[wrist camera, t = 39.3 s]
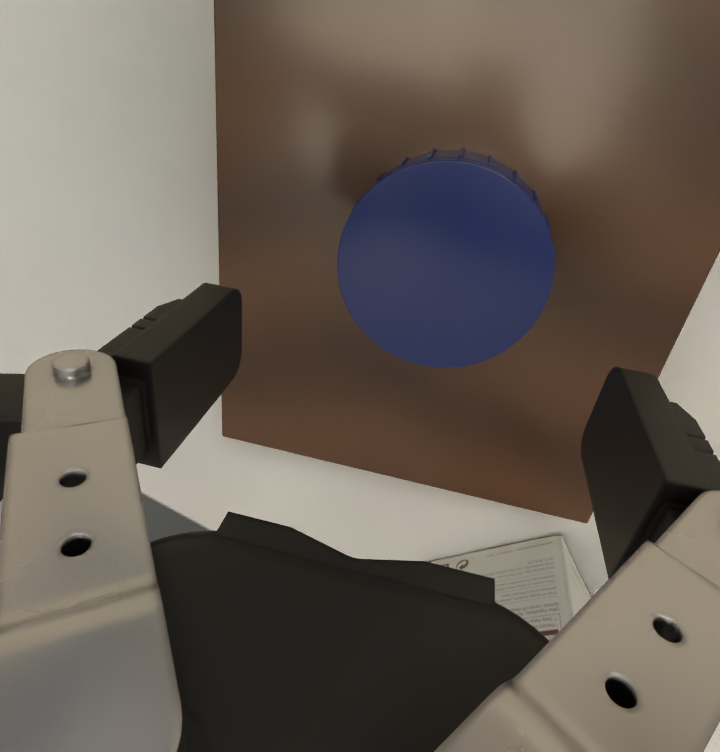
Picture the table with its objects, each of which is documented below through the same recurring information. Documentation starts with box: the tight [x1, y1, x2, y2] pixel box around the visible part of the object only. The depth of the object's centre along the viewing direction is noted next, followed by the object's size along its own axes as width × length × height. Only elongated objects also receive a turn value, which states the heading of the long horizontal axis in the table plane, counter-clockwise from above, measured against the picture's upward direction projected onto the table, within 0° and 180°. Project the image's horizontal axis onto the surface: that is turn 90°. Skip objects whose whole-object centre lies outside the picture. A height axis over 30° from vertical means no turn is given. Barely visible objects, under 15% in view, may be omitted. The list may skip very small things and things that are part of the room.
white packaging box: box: [430, 536, 591, 641], centre depth 22 cm, size 7×7×13 cm
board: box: [214, 0, 720, 523], centre depth 19 cm, size 20×16×2 cm
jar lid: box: [337, 148, 556, 368], centre depth 17 cm, size 7×7×2 cm
